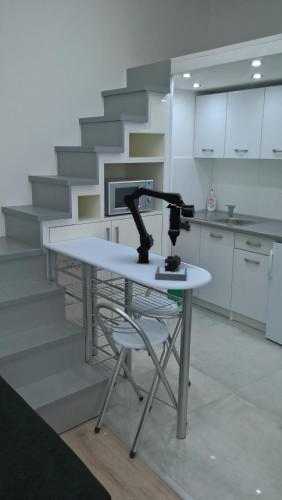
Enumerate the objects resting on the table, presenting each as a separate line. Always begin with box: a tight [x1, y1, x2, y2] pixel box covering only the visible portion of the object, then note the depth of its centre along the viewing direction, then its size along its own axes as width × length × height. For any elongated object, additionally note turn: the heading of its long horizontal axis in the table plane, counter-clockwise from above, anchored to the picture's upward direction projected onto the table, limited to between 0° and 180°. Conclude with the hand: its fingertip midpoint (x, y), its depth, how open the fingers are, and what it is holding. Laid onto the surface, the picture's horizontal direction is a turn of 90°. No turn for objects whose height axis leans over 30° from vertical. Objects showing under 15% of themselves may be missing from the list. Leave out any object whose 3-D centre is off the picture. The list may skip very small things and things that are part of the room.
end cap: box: [164, 254, 182, 273], centre depth 225 cm, size 10×7×7 cm
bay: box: [154, 266, 188, 282], centre depth 213 cm, size 14×15×3 cm
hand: (174, 245), depth 232 cm, fingers open, 4 cm apart
